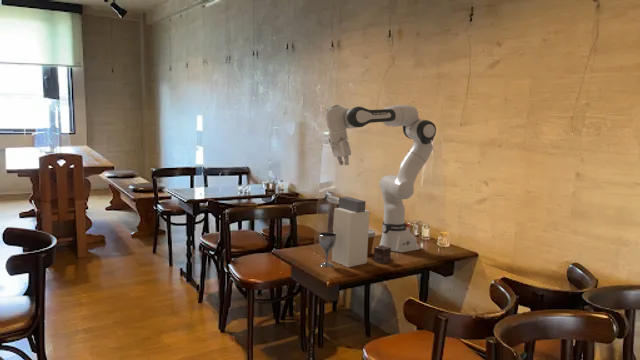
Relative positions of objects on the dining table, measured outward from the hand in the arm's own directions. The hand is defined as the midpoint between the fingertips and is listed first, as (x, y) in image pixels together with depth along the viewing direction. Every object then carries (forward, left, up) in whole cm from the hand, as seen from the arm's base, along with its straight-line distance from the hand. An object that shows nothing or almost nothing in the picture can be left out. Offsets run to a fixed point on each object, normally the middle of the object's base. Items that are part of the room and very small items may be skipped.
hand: (344, 165), depth 251 cm
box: (-14, +19, -46) cm, 52 cm away
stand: (+2, +15, -46) cm, 48 cm away
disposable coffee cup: (-12, +5, -46) cm, 48 cm away
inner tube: (+4, +8, -19) cm, 21 cm away
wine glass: (+15, +17, -46) cm, 51 cm away
